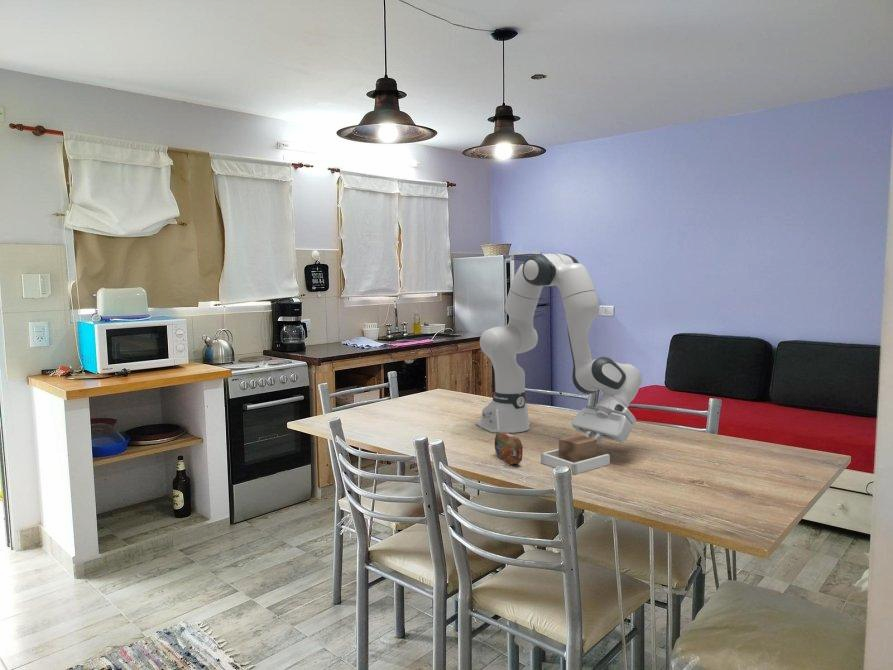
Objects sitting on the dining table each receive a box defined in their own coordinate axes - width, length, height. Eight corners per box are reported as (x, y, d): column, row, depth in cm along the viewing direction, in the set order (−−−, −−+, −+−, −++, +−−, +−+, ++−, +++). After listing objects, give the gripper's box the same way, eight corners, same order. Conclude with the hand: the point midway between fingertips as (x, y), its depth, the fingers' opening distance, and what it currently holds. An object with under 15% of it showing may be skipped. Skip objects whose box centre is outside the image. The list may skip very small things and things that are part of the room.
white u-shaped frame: (540, 462, 184) (540, 453, 183) (575, 453, 192) (575, 444, 192) (574, 474, 172) (574, 464, 172) (609, 464, 180) (609, 454, 180)
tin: (494, 455, 193) (493, 429, 193) (502, 453, 194) (502, 428, 194) (515, 468, 179) (514, 440, 178) (524, 466, 180) (524, 439, 180)
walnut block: (559, 462, 184) (558, 438, 183) (577, 457, 188) (577, 434, 187) (578, 469, 177) (578, 444, 176) (596, 463, 181) (596, 439, 181)
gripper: (580, 399, 196) (559, 433, 192) (631, 409, 179) (609, 447, 175) (590, 410, 199) (569, 444, 195) (640, 421, 182) (619, 459, 178)
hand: (588, 445), depth 185 cm, fingers closed
